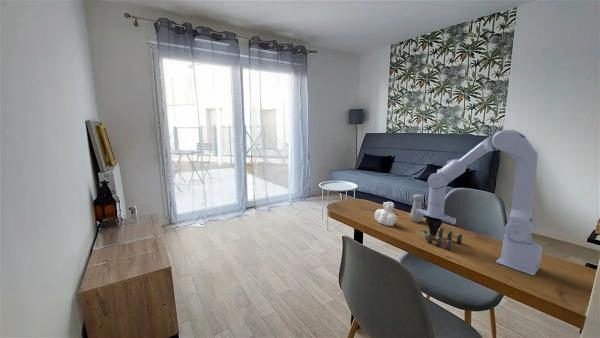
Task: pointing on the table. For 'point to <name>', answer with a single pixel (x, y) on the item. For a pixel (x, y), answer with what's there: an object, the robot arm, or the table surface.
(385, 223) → the duck figurine
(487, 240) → the table surface
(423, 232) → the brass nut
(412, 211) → the salt shaker
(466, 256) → the table surface
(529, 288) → the table surface
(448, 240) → the black spacers
